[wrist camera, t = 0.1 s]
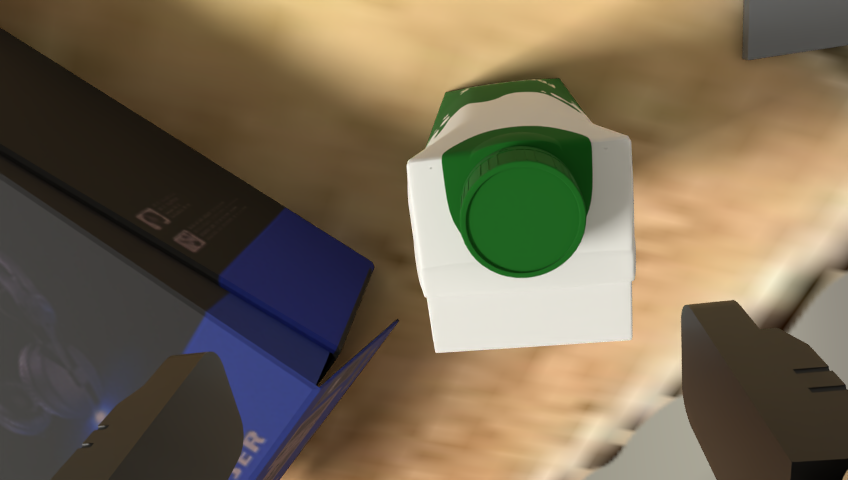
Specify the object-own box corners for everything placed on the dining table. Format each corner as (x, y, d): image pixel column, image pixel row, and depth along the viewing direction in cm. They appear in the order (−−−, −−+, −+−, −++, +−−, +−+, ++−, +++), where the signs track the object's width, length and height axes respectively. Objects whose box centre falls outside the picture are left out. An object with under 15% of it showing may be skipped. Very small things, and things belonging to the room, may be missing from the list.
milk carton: (574, 60, 36) (669, 131, 18) (580, 203, 39) (666, 390, 21) (428, 79, 37) (374, 163, 19) (446, 217, 41) (415, 404, 22)
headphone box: (255, 495, 52) (177, 666, 39) (-139, 278, 47) (-381, 390, 34) (410, 284, 43) (378, 414, 30) (-55, -9, 38) (-340, -9, 25)
